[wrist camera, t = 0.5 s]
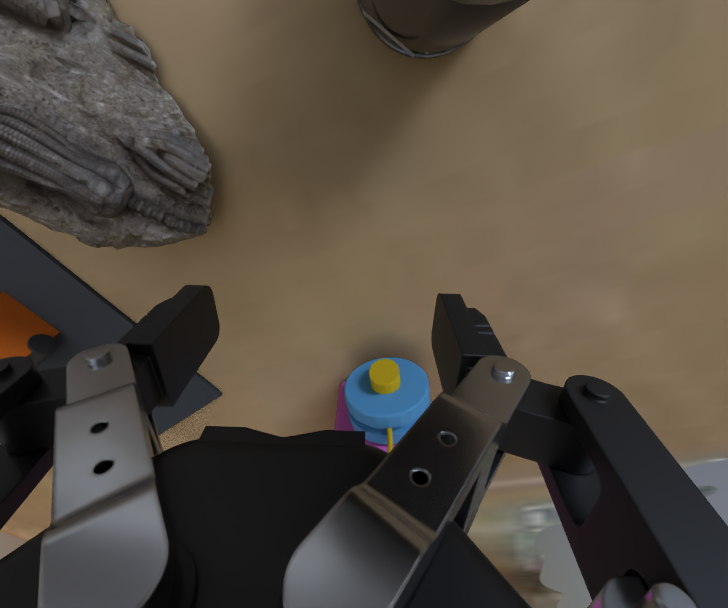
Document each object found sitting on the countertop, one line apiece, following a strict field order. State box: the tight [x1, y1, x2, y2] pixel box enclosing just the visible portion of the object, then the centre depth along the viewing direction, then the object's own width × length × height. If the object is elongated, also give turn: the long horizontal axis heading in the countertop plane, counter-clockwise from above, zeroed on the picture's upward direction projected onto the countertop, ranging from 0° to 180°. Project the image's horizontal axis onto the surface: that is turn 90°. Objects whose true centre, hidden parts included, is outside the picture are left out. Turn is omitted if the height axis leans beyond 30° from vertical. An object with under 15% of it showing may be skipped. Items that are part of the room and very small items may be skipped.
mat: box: [0, 215, 222, 435], centre depth 36 cm, size 26×18×1 cm
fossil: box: [0, 0, 214, 250], centre depth 22 cm, size 22×10×15 cm
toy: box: [335, 357, 430, 453], centre depth 35 cm, size 28×9×15 cm, turn 8°
